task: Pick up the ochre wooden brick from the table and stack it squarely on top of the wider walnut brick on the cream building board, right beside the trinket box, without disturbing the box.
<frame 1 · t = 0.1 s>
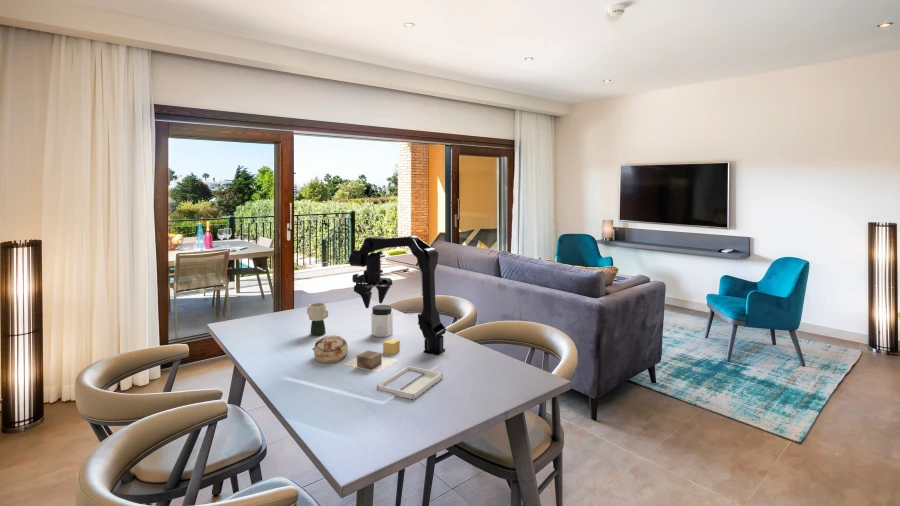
hand: (373, 305, 187), 15 cm above the table, tool pointing down, fingers open, 9 cm apart
jar: (382, 334, 197), on the table
ochre brick: (391, 354, 173), on the table
building board: (371, 364, 163), on the table
walnut brick: (369, 365, 160), point 1 cm above the table, touching building board
trinket box: (331, 358, 169), on the table
cream rectangular tray: (410, 384, 146), on the table
character mug: (318, 334, 196), on the table
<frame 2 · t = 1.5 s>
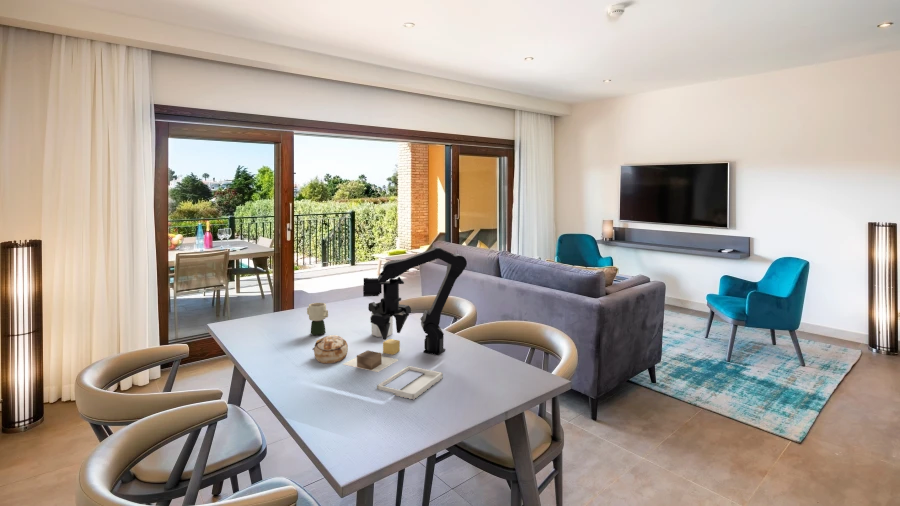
hand: (391, 336, 172), 7 cm above the table, tool pointing down, fingers open, 9 cm apart
nothing on the table moved.
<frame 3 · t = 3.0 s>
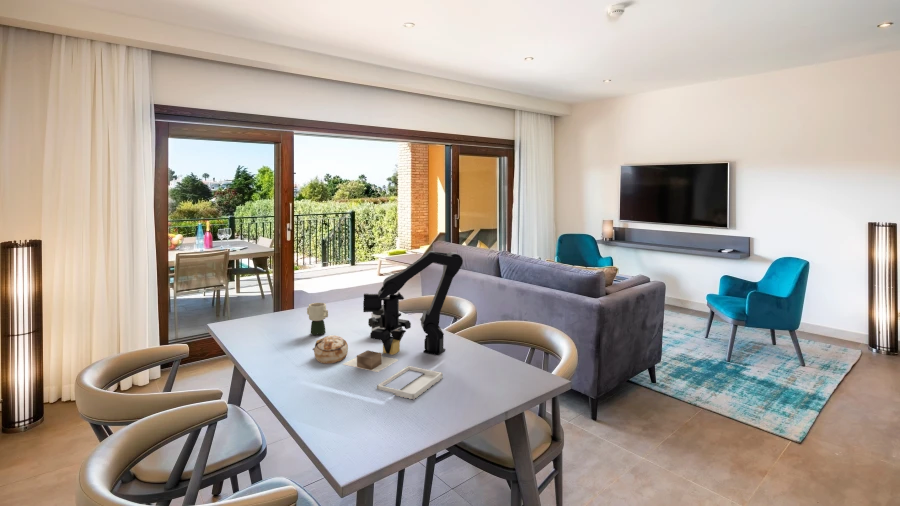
hand: (391, 351, 173), 1 cm above the table, tool pointing down, fingers closed on ochre brick, 4 cm apart
ochre brick: (391, 353, 173), on the table, touching gripper
everything else where it was.
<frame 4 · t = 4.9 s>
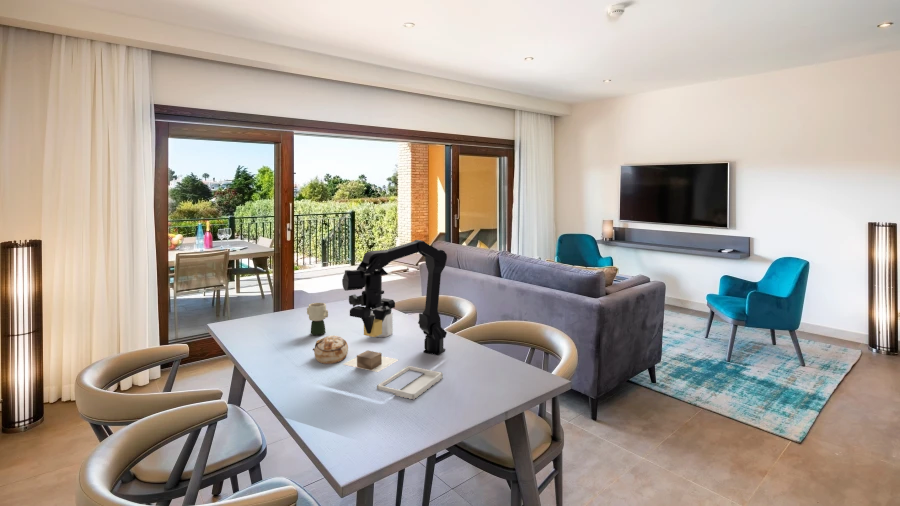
hand: (373, 331, 161), 12 cm above the table, tool pointing down, fingers closed on ochre brick, 4 cm apart
ochre brick: (372, 334, 161), point 11 cm above the table, touching gripper
everything else where it was.
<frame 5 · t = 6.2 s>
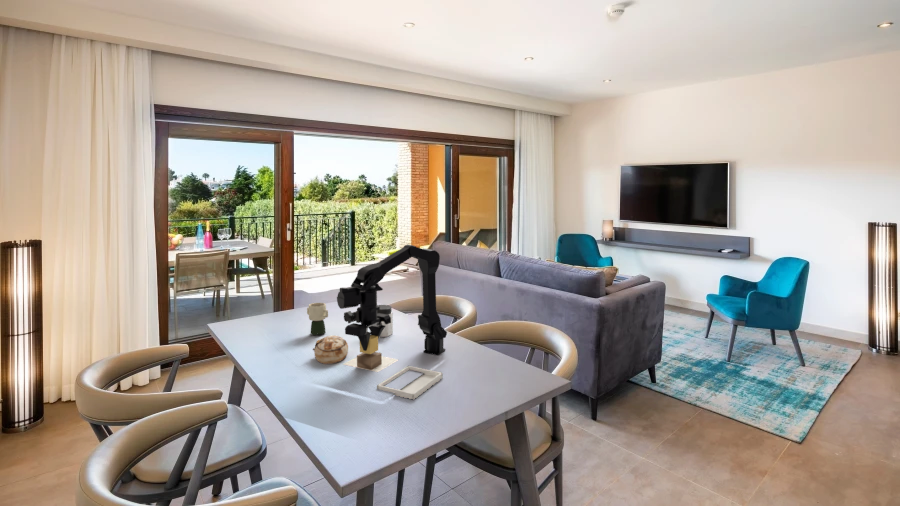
hand: (369, 348, 159), 7 cm above the table, tool pointing down, fingers closed on ochre brick, 4 cm apart
ochre brick: (369, 351, 159), point 6 cm above the table, touching gripper
everything else where it was.
when the fingers open (7 cm above the table, at t = 6.7 s): ochre brick drops 1 cm, resting on walnut brick.
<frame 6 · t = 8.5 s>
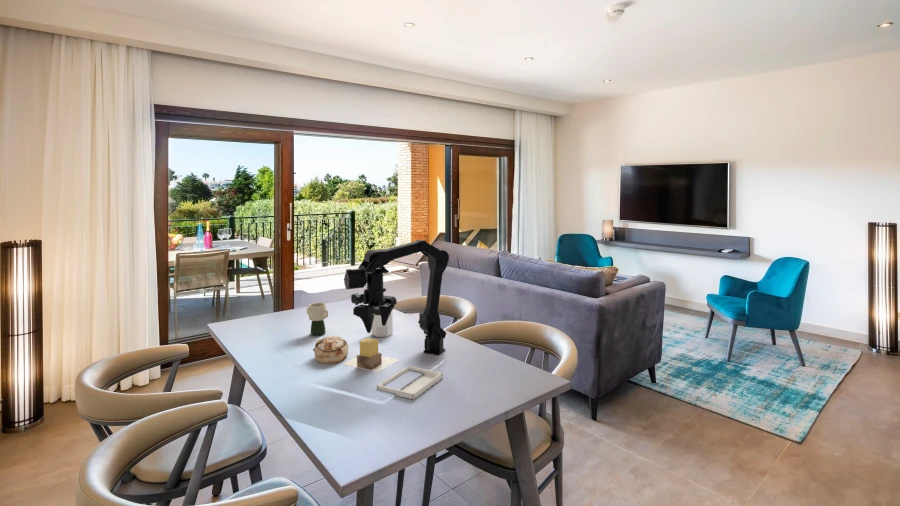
hand: (376, 329, 163), 12 cm above the table, tool pointing down, fingers open, 9 cm apart
ochre brick: (369, 354, 159), point 5 cm above the table, touching walnut brick
walnut brick: (369, 365, 160), point 1 cm above the table, touching building board, ochre brick
everything else where it was.
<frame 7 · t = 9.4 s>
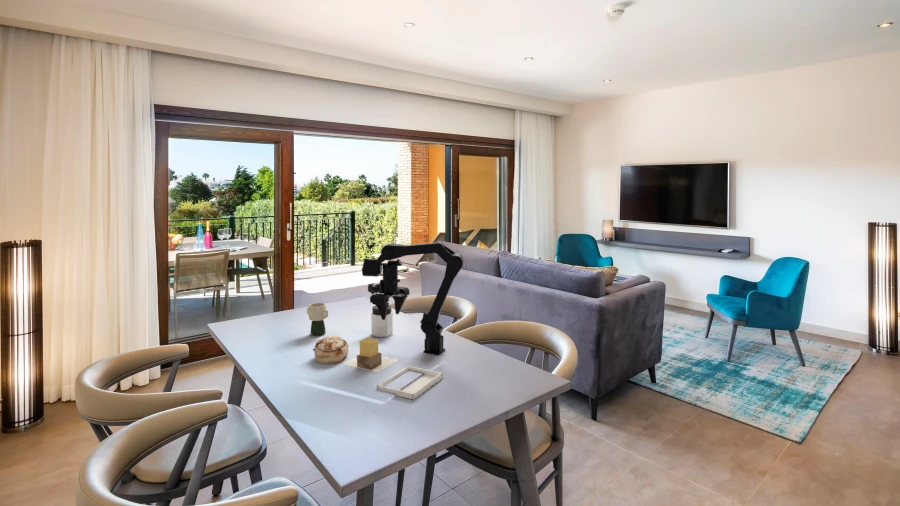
hand: (390, 316, 176), 13 cm above the table, tool pointing down, fingers open, 9 cm apart
nothing on the table moved.
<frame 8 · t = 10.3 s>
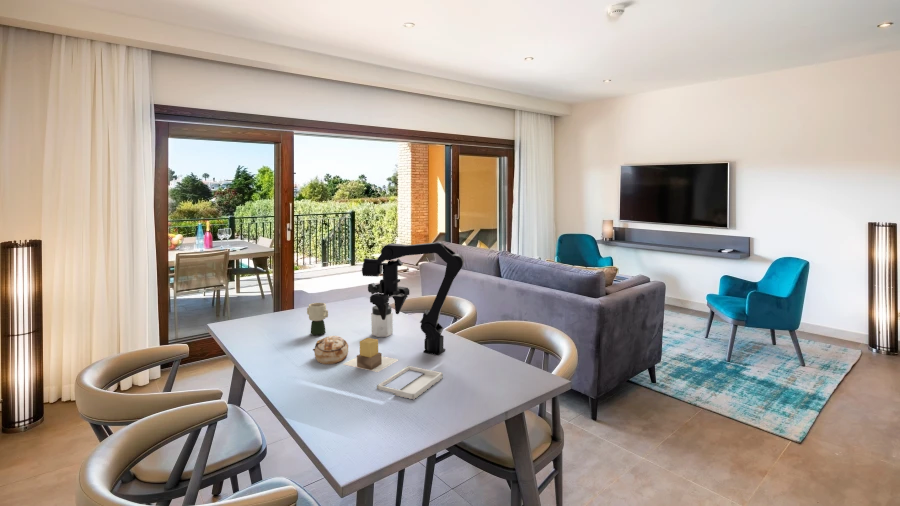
hand: (390, 316, 176), 13 cm above the table, tool pointing down, fingers open, 9 cm apart
nothing on the table moved.
at the end: ochre brick 0.1 cm off-centre on the walnut brick, point 4.0 cm above the walnut brick's base; ochre brick tilted 0°; trinket box moved 1.0 cm from its start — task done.
